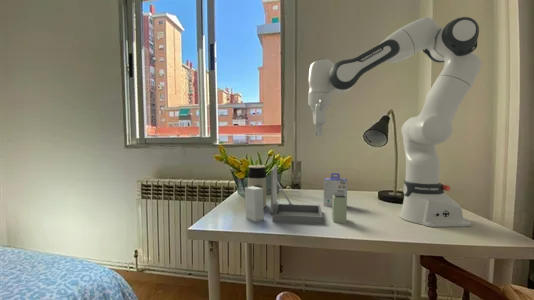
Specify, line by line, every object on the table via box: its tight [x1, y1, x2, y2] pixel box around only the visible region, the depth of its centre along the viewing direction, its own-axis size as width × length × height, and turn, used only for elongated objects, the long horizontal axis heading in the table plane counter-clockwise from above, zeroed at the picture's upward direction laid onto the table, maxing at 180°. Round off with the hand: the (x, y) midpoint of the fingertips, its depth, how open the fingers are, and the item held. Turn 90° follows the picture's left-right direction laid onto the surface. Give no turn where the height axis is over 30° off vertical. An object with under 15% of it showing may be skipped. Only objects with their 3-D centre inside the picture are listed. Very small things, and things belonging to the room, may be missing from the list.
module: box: [331, 194, 348, 224], centre depth 99 cm, size 4×4×10 cm
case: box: [270, 164, 324, 225], centre depth 104 cm, size 18×17×19 cm
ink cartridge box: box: [323, 172, 348, 207], centre depth 121 cm, size 10×6×14 cm, turn 75°
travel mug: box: [247, 164, 267, 208], centre depth 119 cm, size 8×8×18 cm
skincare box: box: [244, 186, 265, 222], centre depth 101 cm, size 6×4×12 cm
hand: (318, 135), depth 110 cm, fingers open, 8 cm apart
